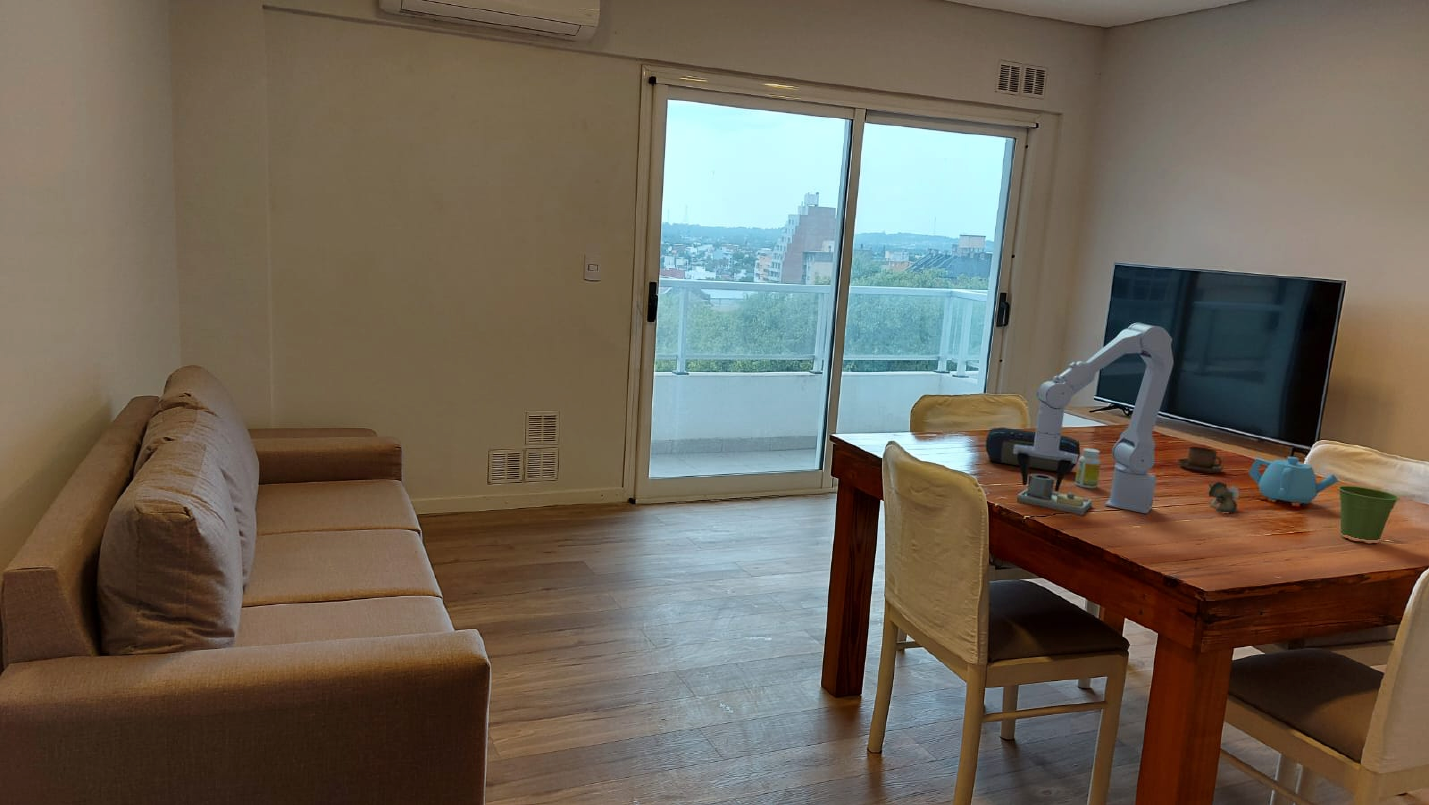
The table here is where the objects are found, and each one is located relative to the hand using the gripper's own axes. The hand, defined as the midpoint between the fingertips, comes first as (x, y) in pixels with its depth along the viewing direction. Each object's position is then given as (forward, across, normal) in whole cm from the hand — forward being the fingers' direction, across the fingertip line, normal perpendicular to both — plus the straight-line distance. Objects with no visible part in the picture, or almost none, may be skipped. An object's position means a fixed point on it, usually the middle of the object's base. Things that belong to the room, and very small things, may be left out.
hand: (1040, 487), depth 233 cm
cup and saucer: (+4, -34, -74) cm, 82 cm away
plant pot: (+4, -68, -19) cm, 70 cm away
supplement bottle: (+4, -8, -26) cm, 27 cm away
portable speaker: (+4, +8, -38) cm, 39 cm away
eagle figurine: (+4, -39, -27) cm, 48 cm away
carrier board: (+3, -4, 0) cm, 5 cm away
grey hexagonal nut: (+2, 0, 0) cm, 2 cm away
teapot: (+4, -55, -48) cm, 74 cm away
